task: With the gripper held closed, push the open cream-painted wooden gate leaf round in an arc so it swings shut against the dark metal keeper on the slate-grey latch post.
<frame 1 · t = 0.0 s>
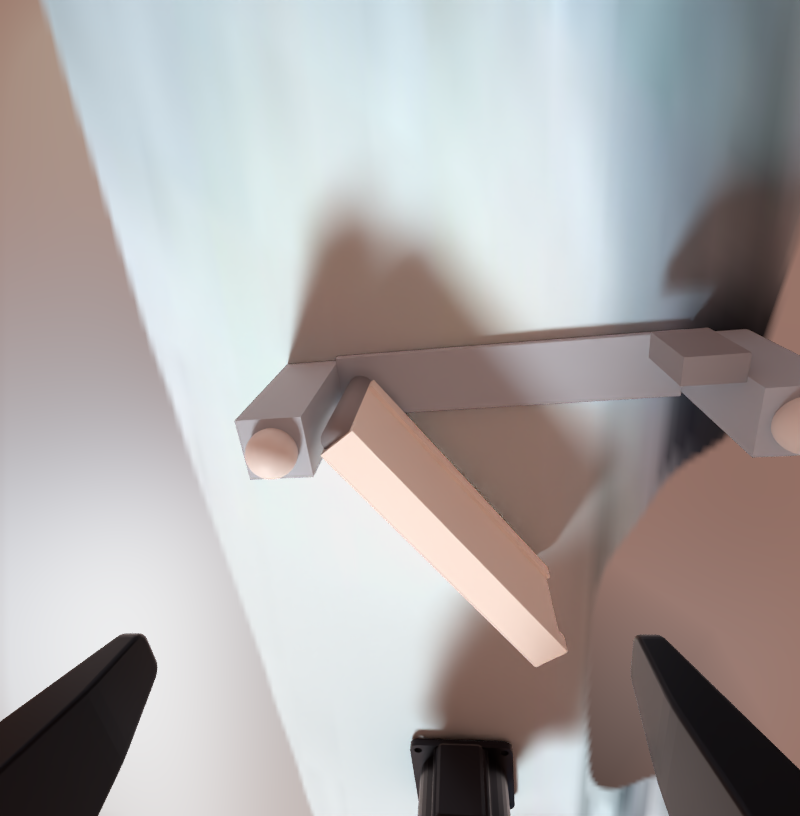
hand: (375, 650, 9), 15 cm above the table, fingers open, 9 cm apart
gate frame: (424, 379, 23), on the table
gate: (448, 514, 22), point 3 cm above the table, hinge at 55.0°
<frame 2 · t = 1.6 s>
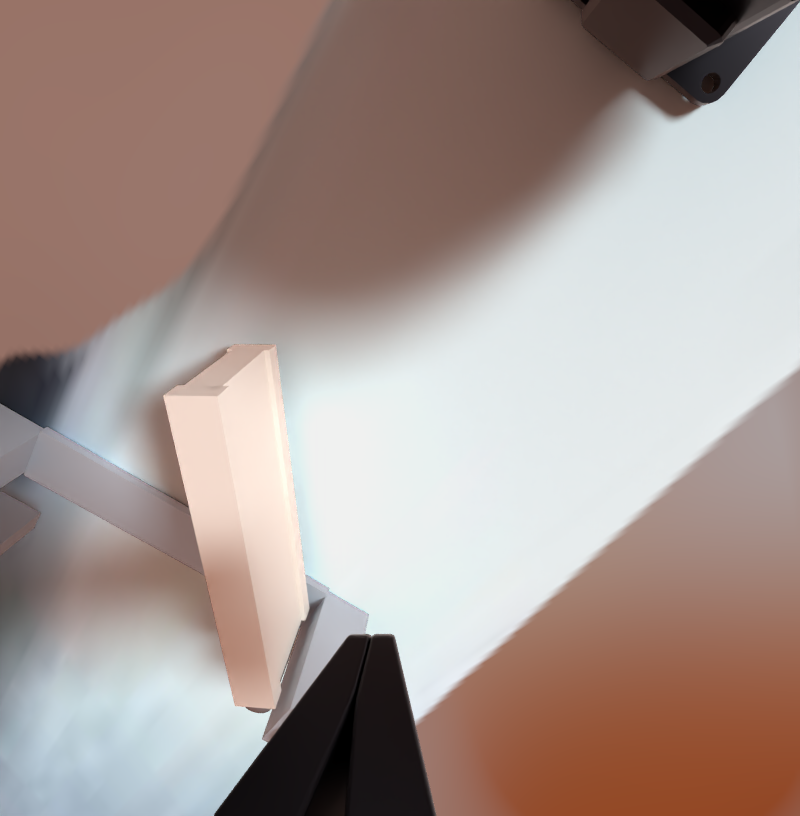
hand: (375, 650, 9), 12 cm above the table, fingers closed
gate frame: (248, 567, 24), on the table
gate: (257, 534, 19), point 3 cm above the table, hinge at 55.0°
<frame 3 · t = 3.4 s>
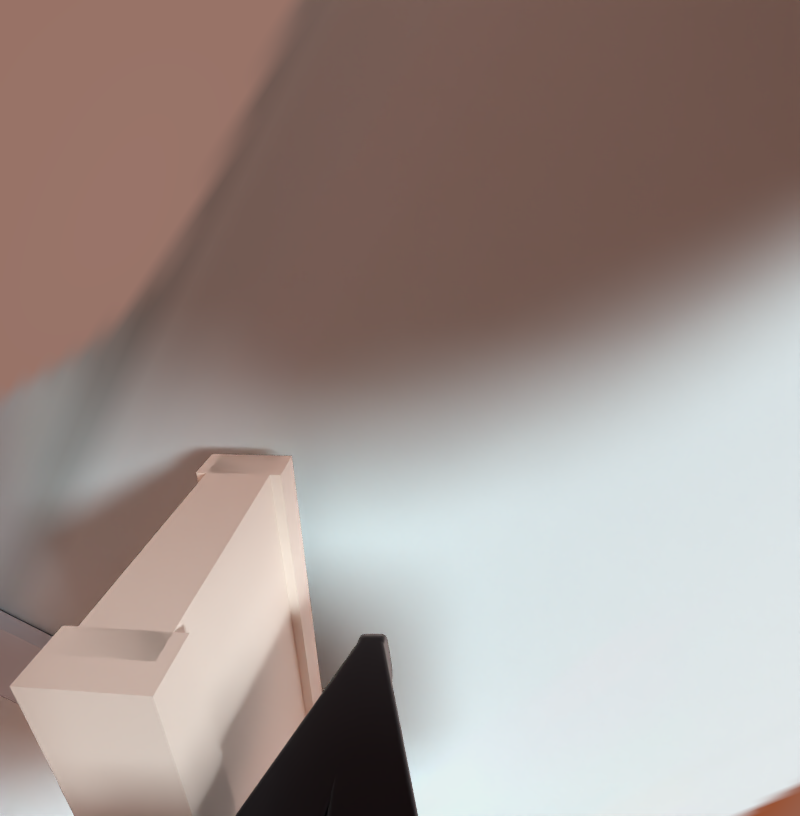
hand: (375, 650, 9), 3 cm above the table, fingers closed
gate frame: (242, 763, 15), on the table
gate: (257, 798, 10), point 3 cm above the table, hinge at 54.4°, touching gripper
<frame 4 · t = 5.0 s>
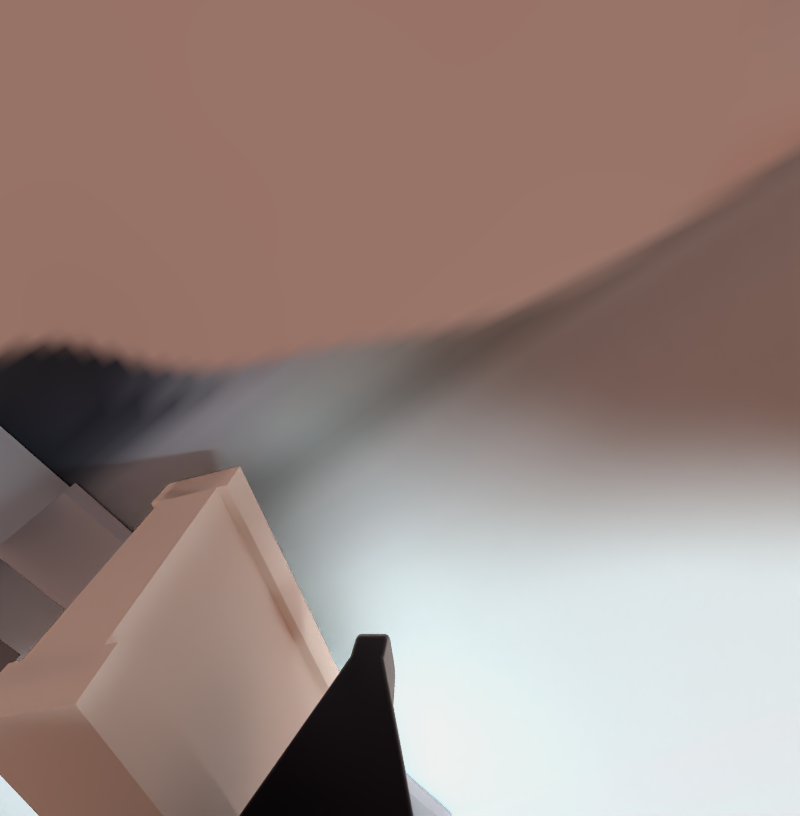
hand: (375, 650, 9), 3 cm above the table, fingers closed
gate frame: (337, 762, 15), on the table
gate: (298, 810, 10), point 3 cm above the table, hinge at 20.7°, touching gripper
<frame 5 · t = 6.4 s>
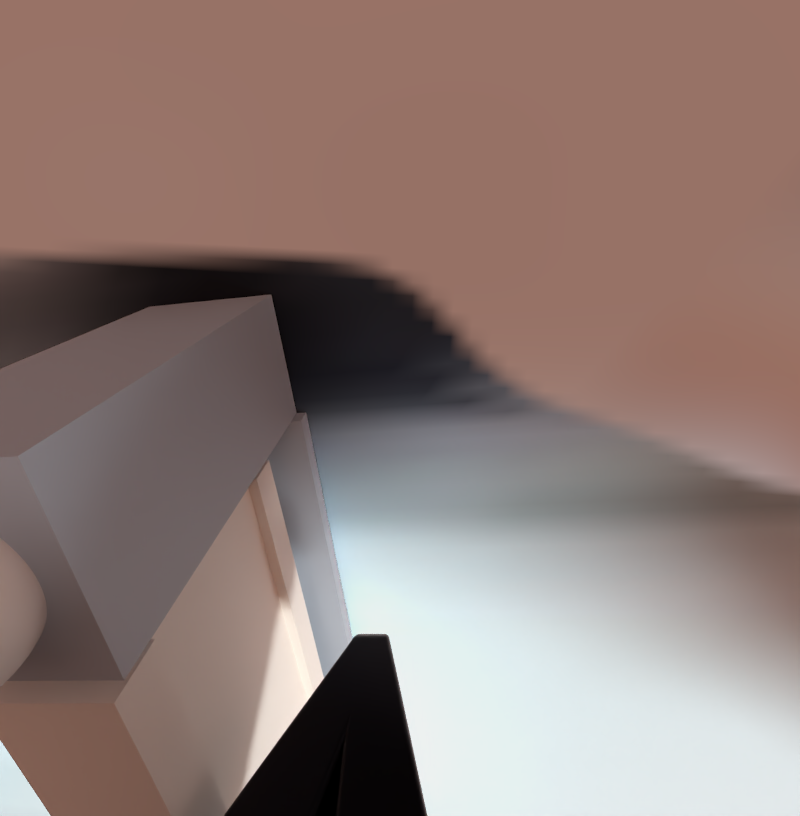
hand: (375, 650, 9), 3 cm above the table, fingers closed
gate frame: (328, 752, 15), on the table
gate: (266, 807, 10), point 3 cm above the table, hinge at -0.2°, touching gripper
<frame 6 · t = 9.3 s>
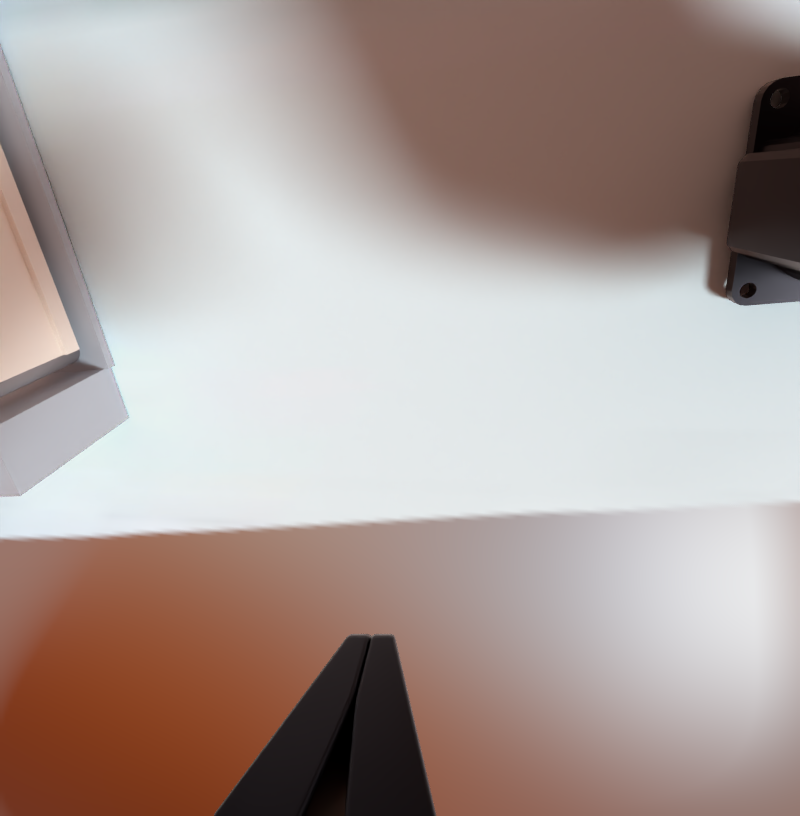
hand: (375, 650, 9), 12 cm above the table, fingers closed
gate frame: (49, 275, 20), on the table
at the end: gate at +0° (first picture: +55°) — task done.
